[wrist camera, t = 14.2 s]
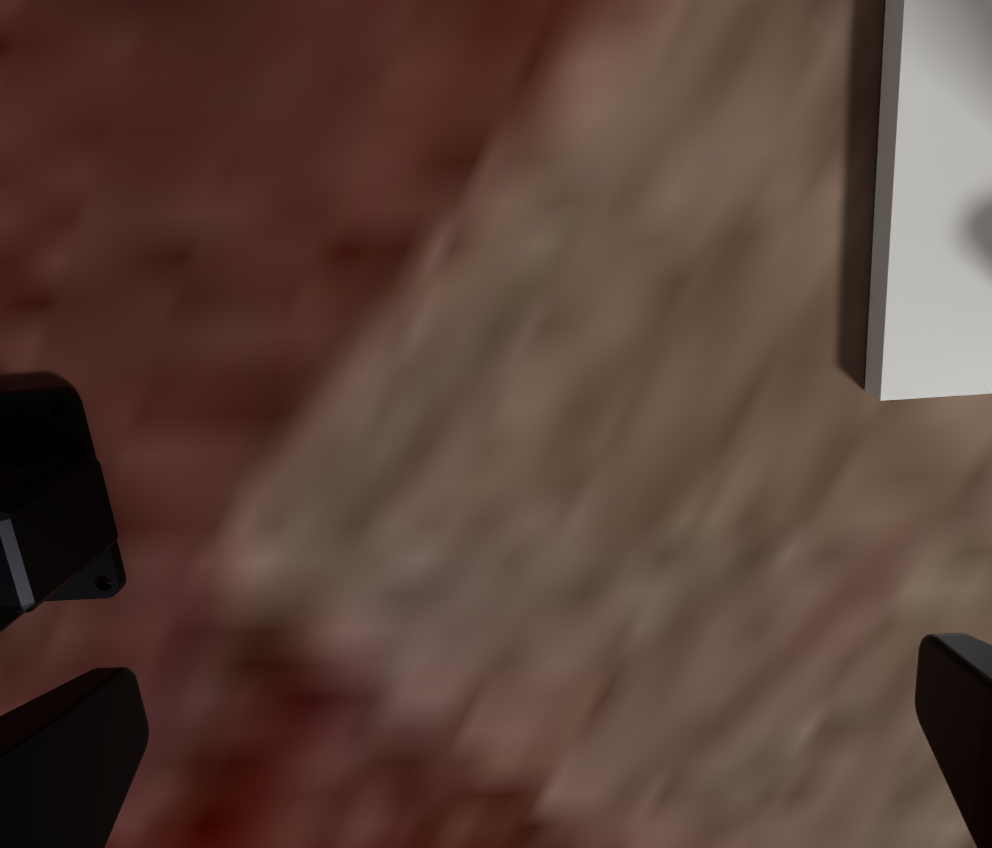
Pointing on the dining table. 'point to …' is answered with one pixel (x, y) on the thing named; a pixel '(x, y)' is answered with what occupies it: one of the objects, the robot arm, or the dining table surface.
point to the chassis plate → (933, 204)
